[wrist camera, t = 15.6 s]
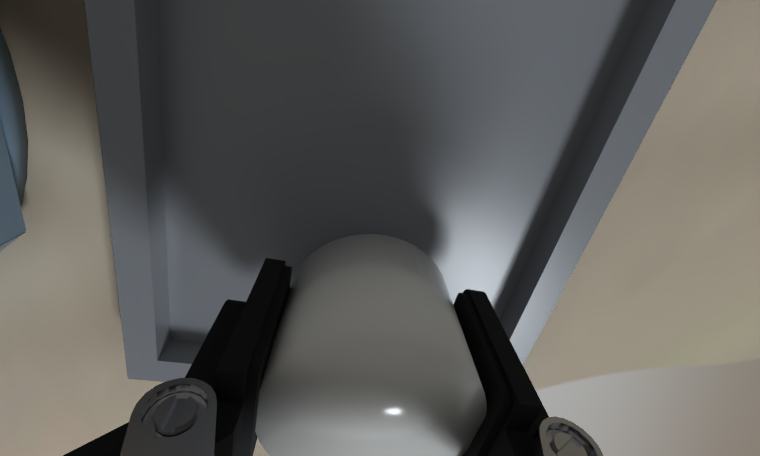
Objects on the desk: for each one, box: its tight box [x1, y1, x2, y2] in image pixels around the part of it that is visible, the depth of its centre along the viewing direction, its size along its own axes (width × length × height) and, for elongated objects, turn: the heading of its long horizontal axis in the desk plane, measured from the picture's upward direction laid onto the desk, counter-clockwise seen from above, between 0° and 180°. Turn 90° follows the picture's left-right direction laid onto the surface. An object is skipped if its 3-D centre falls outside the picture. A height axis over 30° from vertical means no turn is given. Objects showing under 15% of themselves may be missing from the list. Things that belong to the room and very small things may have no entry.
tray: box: [84, 0, 717, 382], centre depth 10 cm, size 14×19×2 cm
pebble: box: [255, 234, 487, 456], centre depth 10 cm, size 5×5×4 cm
